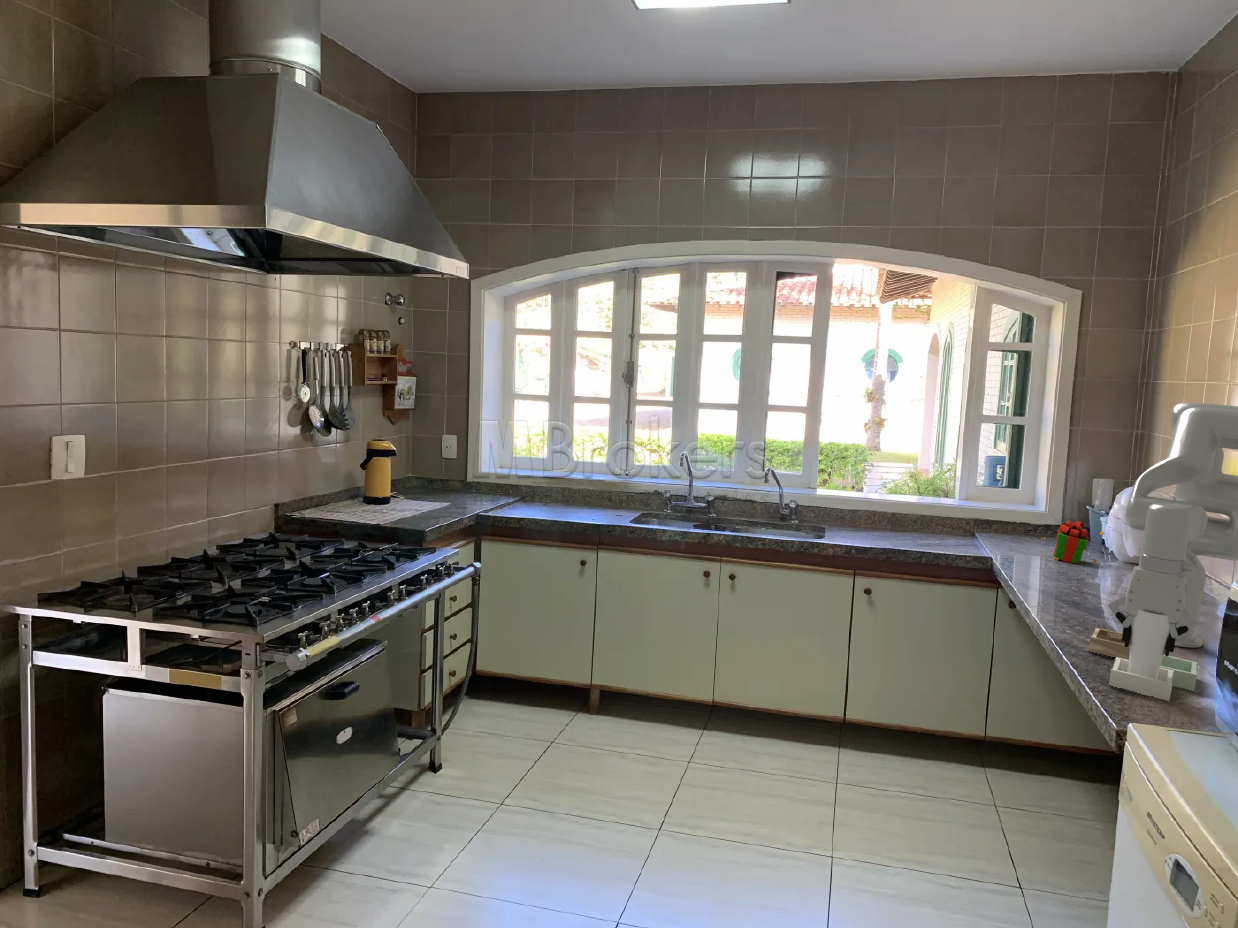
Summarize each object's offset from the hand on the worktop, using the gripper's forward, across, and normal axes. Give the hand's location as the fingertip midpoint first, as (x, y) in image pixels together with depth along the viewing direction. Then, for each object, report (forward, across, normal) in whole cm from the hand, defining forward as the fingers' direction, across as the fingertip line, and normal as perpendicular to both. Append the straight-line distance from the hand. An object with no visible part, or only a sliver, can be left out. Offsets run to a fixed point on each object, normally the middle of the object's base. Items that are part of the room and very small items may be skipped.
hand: (1146, 649), depth 176 cm
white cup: (+7, 0, 0) cm, 7 cm away
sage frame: (+8, -4, -11) cm, 14 cm away
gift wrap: (+9, +29, -130) cm, 133 cm away
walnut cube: (+8, +6, -22) cm, 24 cm away
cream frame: (+8, 0, 0) cm, 8 cm away
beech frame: (+8, +6, -22) cm, 24 cm away
